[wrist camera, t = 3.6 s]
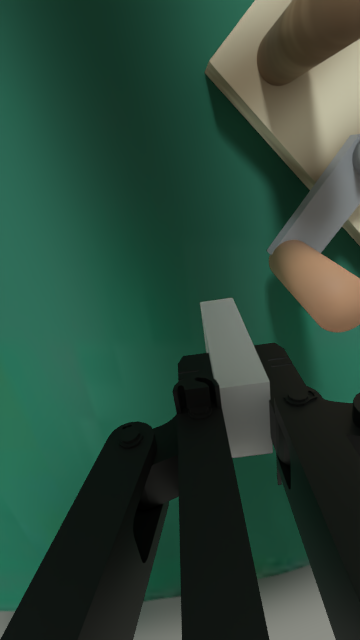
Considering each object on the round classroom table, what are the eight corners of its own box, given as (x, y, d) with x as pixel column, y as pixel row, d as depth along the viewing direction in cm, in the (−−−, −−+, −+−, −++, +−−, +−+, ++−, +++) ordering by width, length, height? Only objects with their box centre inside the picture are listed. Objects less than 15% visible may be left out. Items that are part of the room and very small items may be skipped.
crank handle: (359, 123, 18) (479, 101, 11) (391, 150, 18) (525, 145, 11) (257, 262, 21) (301, 315, 14) (288, 281, 22) (344, 341, 15)
